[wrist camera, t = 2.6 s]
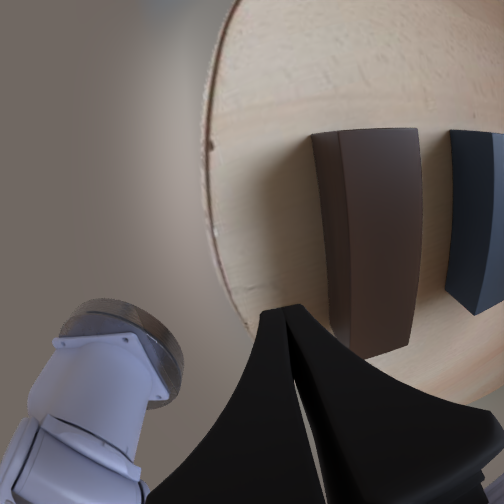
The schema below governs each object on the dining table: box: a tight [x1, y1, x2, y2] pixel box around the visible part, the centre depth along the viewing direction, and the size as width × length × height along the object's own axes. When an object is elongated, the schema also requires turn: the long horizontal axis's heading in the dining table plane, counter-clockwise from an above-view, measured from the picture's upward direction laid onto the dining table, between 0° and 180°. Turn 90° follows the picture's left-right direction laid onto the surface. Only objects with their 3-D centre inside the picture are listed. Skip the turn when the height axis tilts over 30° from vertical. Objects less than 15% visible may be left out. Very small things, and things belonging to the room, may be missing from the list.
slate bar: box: [445, 130, 504, 316], centre depth 13 cm, size 4×12×4 cm, turn 10°
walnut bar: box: [311, 128, 423, 360], centre depth 13 cm, size 4×12×4 cm, turn 10°
